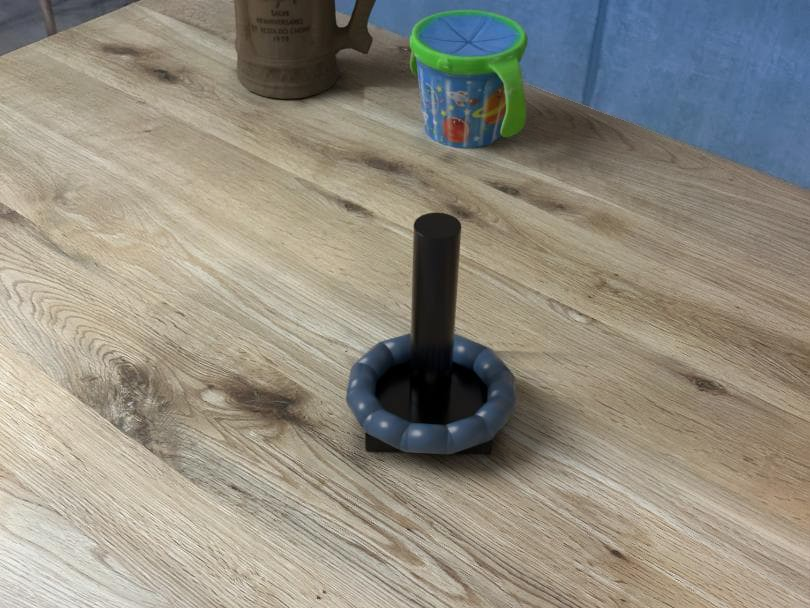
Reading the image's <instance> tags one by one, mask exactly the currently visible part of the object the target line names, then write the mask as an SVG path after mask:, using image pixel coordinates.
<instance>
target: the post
mask: <svg viewBox="0 0 810 608" xmlns="http://www.w3.org/2000/svg"><path fill="white" fill-rule="evenodd" d="M412 234H413V235H412V236H413V237H412V238H413V239H412V269H411V271H412V273H411V274H412V275H411V278H412V279H411V306H410V307H411V312H410V315H411V316H410V333H411V344H410V362H406V363H403V364H400V365H397V366H393V367H391V368H390V369H389V370H388V371H387V372H386V373H385V374H384V375H383V376H381V377H380V378H379V379H378V380H377V382H376V390H375V396H376V398H377V399H378V400H379V402H380V403H381V405H382V406H383V408H384V409H385V410H386V411H387V412H390V413H392V414H394V415H396V416H398V417H400V418H402V419H405V420H407V421H409V422H411V423H420V424H438V425H447V424H450V423H453V422H456V421H459V420H462V419H465V418H468V417H471V416H474V415H475V414H476V413H477V412H478V411H479V410H480V409H481V407H482V406H483V405H484V404H485V403H486V402H487V392H488V387H487V386H486V384H485V383H484V382H483V381H482V380H481V378H480V377H479V376H478V375H477V373H476V372H475V371H472V370H470V369H468V368H465V367H463V366H461V365H459V364H456V363H454V362H453V349H454V334H456V333H455V331H456V318H457V317H456V315H457V303H458V286H459V285H458V284H459V272H460V257H461V256H460V255H461V239H462V223H461V221H460V220H459V219H458V218H457V217H455V216H454V215H451V214H450V213H446V212H428V213H424V214H421V215H420V216H418V217H417V218H416V219H415V220H414V222H413V233H412ZM494 438H495V437H493V438H492V439H491V440H490V441H488V442H485V443H482V444H479V445H476V446H473V447H470V448H467V449H464V450H461V451H458V452H455V453H454V454H459V455H460V454H463V455H492V454H493V449H494V448H493V447H494V442H495V441H494ZM364 450H365V451H366V452H387V453H388V452H389V453H405V452H404V451H402V450H400V449H397V448H395V447H393V446H391V445H389V444H387V443H385V442H383V441H381V440H379V439H377V438H375V437H373V436H371V435H369V434H367V433H366V432H365V431H364Z"/></svg>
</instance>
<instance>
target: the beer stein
mask: <svg viewBox="0 0 810 608" xmlns="http://www.w3.org/2000/svg"><path fill="white" fill-rule="evenodd" d="M376 1H377V0H355V3H354V7H353V9H352V12H351V14H350V18H349V21H348V23H347V25H345V26H338V24H337V12H336V0H233V7H234V19H235V39H234V49H235V52H236V57H237V58H236V59H237V60H236V77H237V80H238V81H239V83H240V84H241V86H242V87H244V88H245V89H246V90H247V91H249V92H252V93H254V94H257V95H259V96H262V97H266V98H273V99H281V100H290V99H301V98H307V97H311V96H314V95H315V96H316V95H319V94H321V93H323V92H325V91H327V90H328V89H330V88H331V87H332V86H333V85H334V84H335V83H336V81H337V79H338V77H339V66H338V61H337V58H336V56H337V55H338V53H339V52H340V51H343V50H351V49H352V50H354V51H356V52H358V53H361V54H363V55H366V56H367V55H368V54H369V52H370V49H371V47H372V44H373V40H374V39H373V37H372V35H371V33H370V31H369V29H368V25H369V24H368V23H369V19H370V16H371V13H372V11H373V8H374V6H375V4H376V3H377V2H376Z"/></svg>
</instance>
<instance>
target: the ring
mask: <svg viewBox="0 0 810 608" xmlns="http://www.w3.org/2000/svg"><path fill="white" fill-rule="evenodd" d="M410 344H411V332H409V333H406V334H402V335H399V336H394V337H392V338H389V339H385V340H382V341H378V342H377V343H375V344H374V346H372V347H371V348H370V349H369V350H368V351H366V352H365V354H363V355H362V356H361V357H360V358H359V359H358V360H357V361H356V362H355V363H354V364H352V366H351V367H350V371H349V376H348V382H347V389H346V395H345V403H346V405H347V407H348V409H349V410H350V412H351V413H352V414H353V416H354V418H355V419H356V420H357V422H358V423H359V425H360V426H361V427H362V429H363V431H364V433H365V432H366V433H367V434H369V435H371V436H373V437H375V438H377V439H379V440H381V441H383V442H385V443H387V444H389V445H391V446H393V447H395V448H397V449H400V450H402V451H404V452H403V453H415V454H416V453H417V454H432V455H433V454H434V455H453V454H456V453H455V452H458V451H461V450H464V449H467V448H470V447H473V446H476V445H479V444H482V443H485V442H488V441H490V440H491V439H492V438H495V436H496V435H497V434H498V433H499V432H500V430H501V429H503V427H504V426H505V425H506V424H507V423H508V422H509V421H510V419H511V418H512V417H513V416H514V414H515V412H516V408H517V407H516V403H517V401H516V399H517V397H516V389H517V388H516V377H515V375H514V373H513V372H512V371H511V370H510V368H509V367H508V366H507V365H506V363H505V362H504V361H503V360H502V359H501V358H500V357H499V356H498V354H497V353H496V352H495V351H494V350H493V349H492V348H491V347H488V346H486V345H484V344H481V343H479V342H477V341H475V340H472V339H469V338H467V337H465V336H462V335H460V334H457V333H455V334H454V349H453V362H454V363H456V364H459V365H461V366H463V367H465V368H468V369H470V370H472V371H475V372H476V373H477V375H478V376H479V377H480V378H481V380H482V381H483V382H484V383H485V384H486V386H487V387H488V392H487V402H486V403H485V404H484V405H483V406H482V407H481V409H480V410H479V411H478V412H477V413H476V414H475V415H474V416H471V417H468V418H465V419H462V420H459V421H456V422H453V423H450V424H447V425H438V424H420V423H411V422H409V421H407V420H405V419H402V418H400V417H398V416H396V415H394V414H392V413H390V412H387V411H386V410H385V409H384V408H383V406H382V405H381V403H380V402H379V400H378V399H377V398H376V396H375V390H376V382H377V380H378V379H379V378H380V377H381V376H383V375H384V374H385V373H386V372H387V371H388V370H389V369H390V368H391V367H393V366H397V365H400V364H403V363H406V362H410Z"/></svg>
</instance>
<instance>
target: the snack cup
mask: <svg viewBox="0 0 810 608" xmlns="http://www.w3.org/2000/svg"><path fill="white" fill-rule="evenodd" d="M528 42H529V38H528V35H527V33H526V31H525V29H524V28H523V27H522V25H521V24H520V23H518V22H517V21H515V20H513V19H512V18H509V17H507V16H504V15H502V14H498V13H495V12H490V11H485V10H476V9H456V10H447V11H441V12H438V13H433V14H432V15H428V16H426V17H425V18H422V19H421V20H419V21H418V22H417V23H416V24H415V25H414V26H413V28H412V30H411V35H410V36H409V48H410V50H411V53H410V59H409V66H410V71H411V74H413V75H414V76H415V77H417V80H418V86H419V87H418V88H419V94H420V95H419V96H420V101H421V111H422V118H423V124H424V125H423V126H424V131H425V133H426V135H427V137H429V138H430V139H431V140H433V141H434V142H436V143H437V144H440V145H442V146H445V147H449V148H455V149H476V148H482V147H487V146H489V145H492V144H493V143H495V142H496V141H498V140H499V139H500V138H501V137H503V138H510V137H512V136H515V135H517V134H518V133H520V132H521V131H522V130H523V128H524V126H525V124H526V121H527V111H526V110H527V109H526V108H527V107H526V99H525V89H524V88H525V87H524V79H523V74H522V70H521V66H520V63H521V61H522V59H523V57H524V55H525V51H526V48H527V47H528Z"/></svg>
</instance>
